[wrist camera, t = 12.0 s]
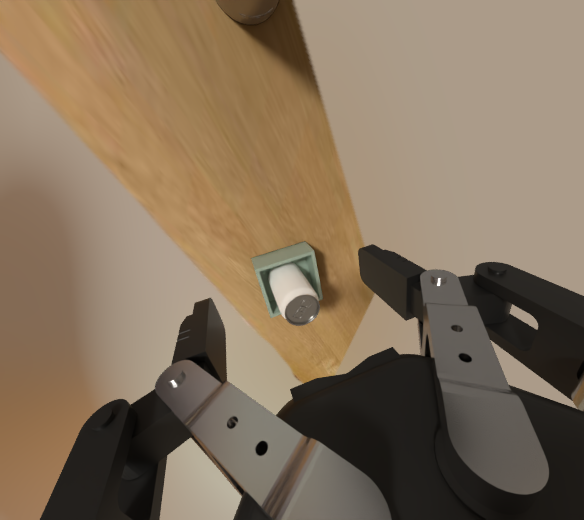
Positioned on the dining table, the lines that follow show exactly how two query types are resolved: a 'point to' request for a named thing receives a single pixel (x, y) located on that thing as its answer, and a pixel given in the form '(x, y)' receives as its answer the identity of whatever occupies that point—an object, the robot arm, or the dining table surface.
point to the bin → (294, 253)
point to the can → (293, 294)
